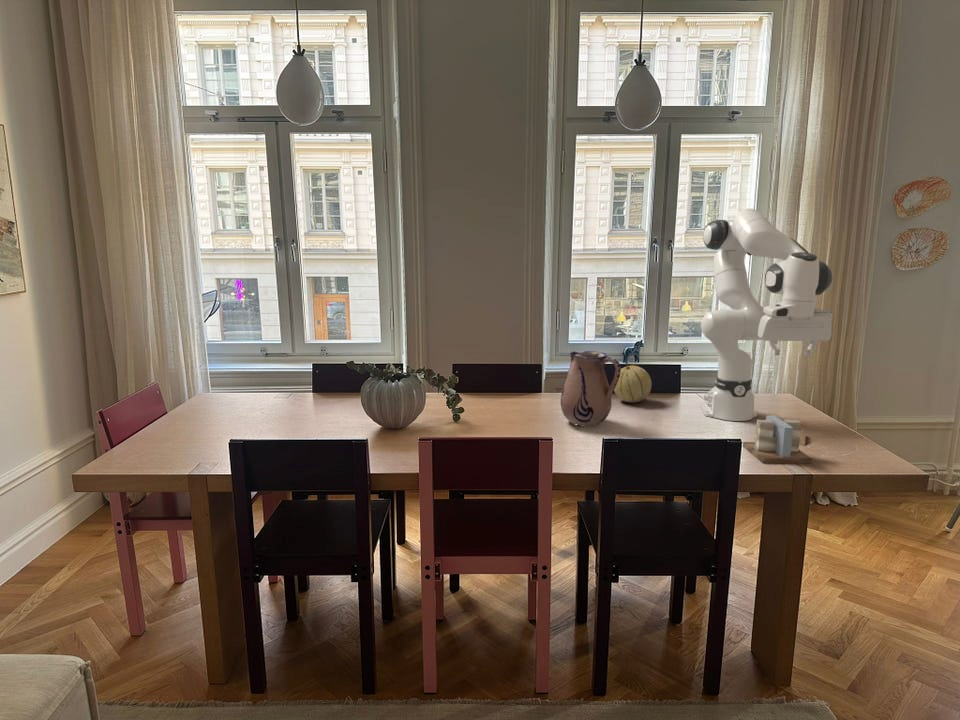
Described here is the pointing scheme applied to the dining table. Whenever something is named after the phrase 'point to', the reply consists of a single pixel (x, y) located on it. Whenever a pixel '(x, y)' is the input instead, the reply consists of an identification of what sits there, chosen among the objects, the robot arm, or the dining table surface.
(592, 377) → the ceramic pitcher
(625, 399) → the cantaloupe
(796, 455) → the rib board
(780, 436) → the slotted plate
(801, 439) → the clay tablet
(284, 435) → the dining table surface
